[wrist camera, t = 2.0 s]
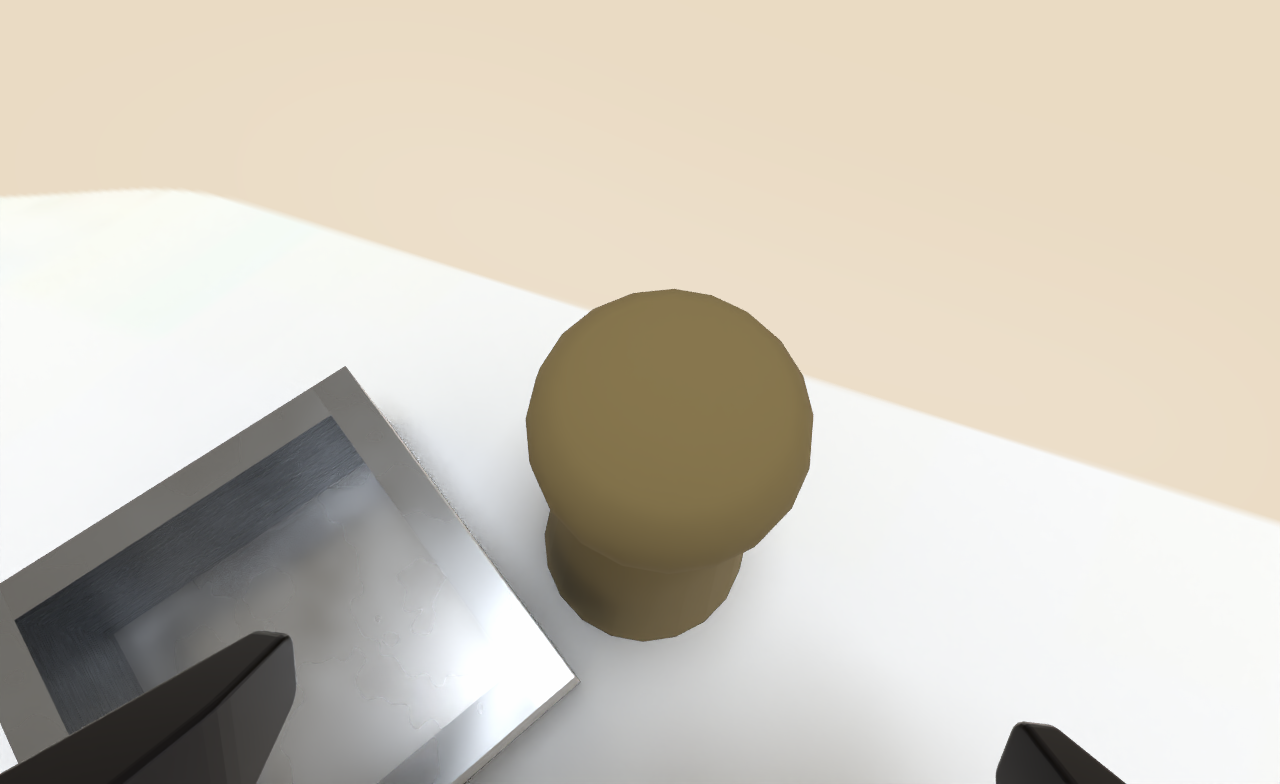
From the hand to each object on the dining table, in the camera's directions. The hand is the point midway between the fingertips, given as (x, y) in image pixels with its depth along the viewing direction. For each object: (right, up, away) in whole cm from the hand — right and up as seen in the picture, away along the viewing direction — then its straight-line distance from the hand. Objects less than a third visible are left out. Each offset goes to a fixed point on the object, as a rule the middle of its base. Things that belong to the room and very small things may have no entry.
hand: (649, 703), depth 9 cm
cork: (0, -1, +13) cm, 13 cm away
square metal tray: (-9, -4, +11) cm, 14 cm away
